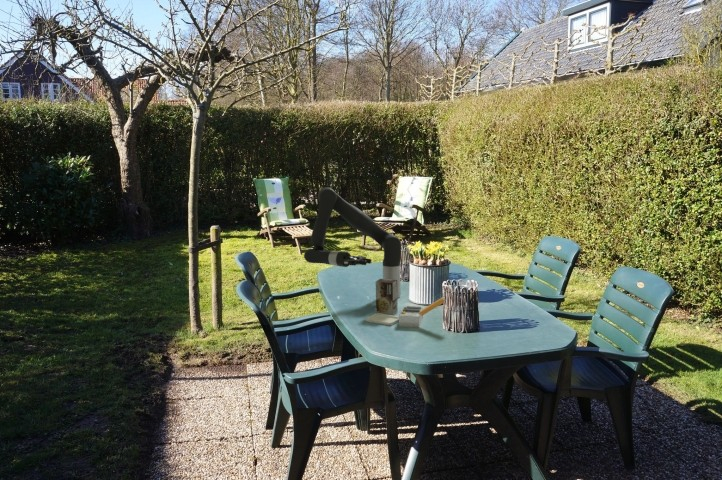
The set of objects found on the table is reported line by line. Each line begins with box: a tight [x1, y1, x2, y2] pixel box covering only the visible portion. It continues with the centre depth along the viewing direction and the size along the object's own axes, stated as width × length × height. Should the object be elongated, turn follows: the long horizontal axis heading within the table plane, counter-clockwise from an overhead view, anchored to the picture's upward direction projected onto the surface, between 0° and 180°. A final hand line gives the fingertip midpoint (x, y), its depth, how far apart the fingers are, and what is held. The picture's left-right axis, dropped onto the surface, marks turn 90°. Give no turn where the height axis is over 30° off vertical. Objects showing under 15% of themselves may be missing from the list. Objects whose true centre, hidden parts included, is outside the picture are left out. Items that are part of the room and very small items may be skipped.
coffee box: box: [375, 278, 399, 316], centre depth 271 cm, size 9×6×16 cm
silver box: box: [398, 305, 424, 328], centre depth 257 cm, size 14×9×6 cm, turn 167°
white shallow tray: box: [365, 312, 399, 327], centre depth 261 cm, size 11×14×1 cm
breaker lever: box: [420, 296, 445, 317], centre depth 251 cm, size 3×2×16 cm
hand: (368, 262), depth 274 cm, fingers open, 4 cm apart
